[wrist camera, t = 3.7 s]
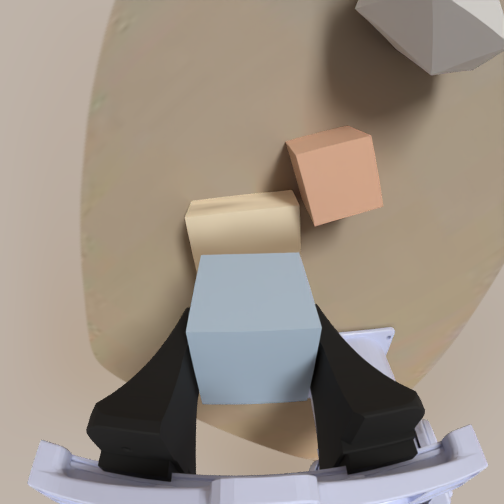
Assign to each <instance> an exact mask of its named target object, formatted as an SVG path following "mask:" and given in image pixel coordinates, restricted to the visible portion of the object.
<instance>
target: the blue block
mask: <svg viewBox="0 0 504 504" xmlns="http://www.w3.org/2000/svg"><path fill="white" fill-rule="evenodd" d="M321 330H322V327H321V323H320V320H319V316H318V313H317V309H316V306H315V303H314V299H313V296H312V293H311V289H310V286H309V283H308V279H307V276H306V273H305V270H304V266H303V263H302V260H301V257H300V254H299V252H297V253H260V254H221V255H201V258H200V262H199V267H198V272H197V277H196V282H195V287H194V292H193V297H192V302H191V307H190V312H189V317H188V323H187V328H186V335H187V340H188V345H189V349H190V354H191V358H192V363H193V367H194V371H195V375H196V380H197V384H198V388H199V392H200V396H201V400H202V404H263V403H282V402H296V401H307V398H308V394H309V389H310V385H311V380H312V376H313V371H314V366H315V361H316V356H317V351H318V346H319V340H320V335H321Z"/></svg>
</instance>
